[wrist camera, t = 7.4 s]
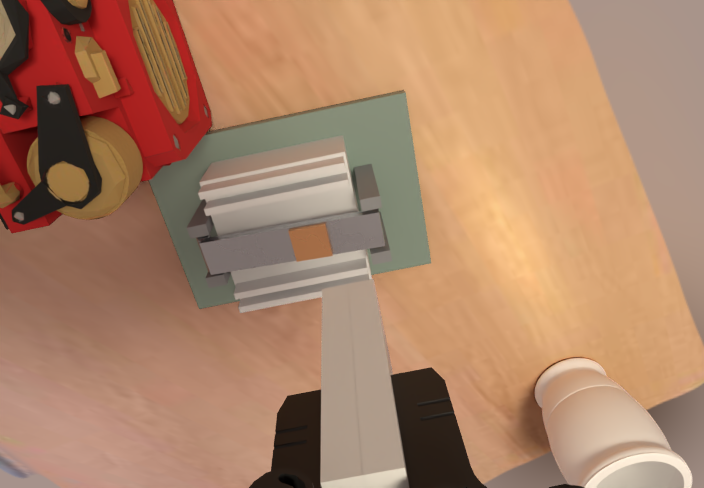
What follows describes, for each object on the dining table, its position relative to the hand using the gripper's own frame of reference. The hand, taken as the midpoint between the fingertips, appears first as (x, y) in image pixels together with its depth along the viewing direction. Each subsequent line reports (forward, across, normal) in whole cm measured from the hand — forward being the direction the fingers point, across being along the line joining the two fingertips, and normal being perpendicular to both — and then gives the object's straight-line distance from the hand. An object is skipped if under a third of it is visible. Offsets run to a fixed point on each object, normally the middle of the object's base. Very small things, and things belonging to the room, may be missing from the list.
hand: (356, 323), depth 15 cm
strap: (+27, -6, -9) cm, 30 cm away
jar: (+35, +20, -38) cm, 55 cm away
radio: (+35, -16, +7) cm, 39 cm away
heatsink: (+34, -6, -9) cm, 36 cm away
